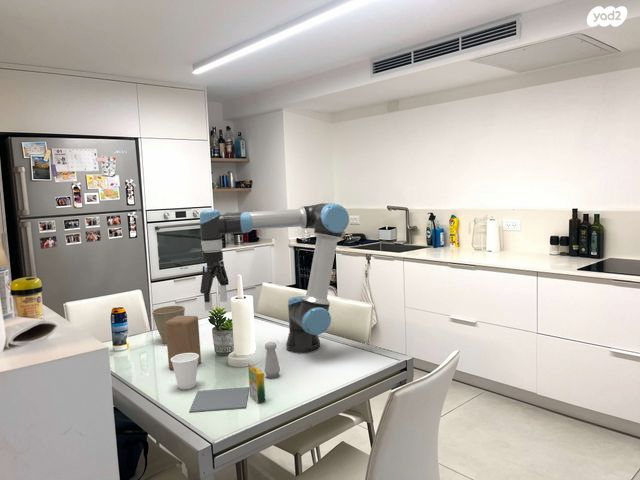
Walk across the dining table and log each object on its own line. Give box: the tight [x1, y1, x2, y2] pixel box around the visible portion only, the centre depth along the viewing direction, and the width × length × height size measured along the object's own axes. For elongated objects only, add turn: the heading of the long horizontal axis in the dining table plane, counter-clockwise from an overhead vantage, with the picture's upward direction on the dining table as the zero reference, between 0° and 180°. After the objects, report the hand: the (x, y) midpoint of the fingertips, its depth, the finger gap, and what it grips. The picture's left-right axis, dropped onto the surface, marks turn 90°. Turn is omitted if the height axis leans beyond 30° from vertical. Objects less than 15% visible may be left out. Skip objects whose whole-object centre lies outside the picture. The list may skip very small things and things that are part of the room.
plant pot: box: [151, 305, 185, 345], centre depth 231 cm, size 15×15×16 cm
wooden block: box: [166, 315, 202, 370], centre depth 196 cm, size 10×10×20 cm
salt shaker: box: [263, 341, 281, 379], centre depth 181 cm, size 6×6×13 cm
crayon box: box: [247, 363, 266, 404], centre depth 161 cm, size 7×3×12 cm, turn 29°
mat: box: [188, 386, 250, 413], centre depth 162 cm, size 18×16×1 cm
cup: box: [171, 353, 199, 390], centre depth 175 cm, size 10×10×11 cm
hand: (216, 305), depth 184 cm, fingers open, 13 cm apart
